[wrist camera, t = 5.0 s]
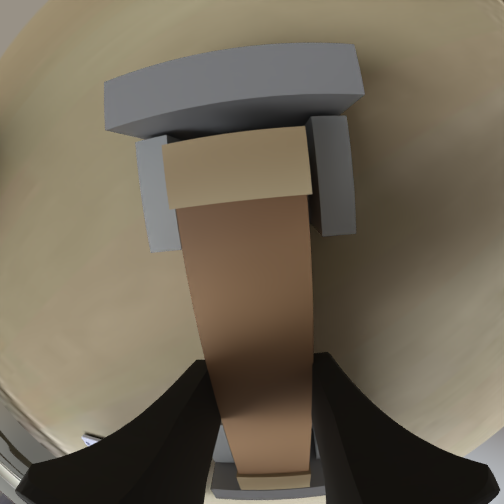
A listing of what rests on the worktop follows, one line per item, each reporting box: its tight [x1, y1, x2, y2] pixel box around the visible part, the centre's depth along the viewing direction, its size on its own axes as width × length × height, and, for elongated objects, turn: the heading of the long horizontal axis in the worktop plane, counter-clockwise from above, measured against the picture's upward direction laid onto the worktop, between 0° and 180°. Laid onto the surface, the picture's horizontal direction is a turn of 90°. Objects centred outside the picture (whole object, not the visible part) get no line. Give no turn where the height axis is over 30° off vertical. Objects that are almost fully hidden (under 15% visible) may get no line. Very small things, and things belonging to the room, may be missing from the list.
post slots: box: [104, 43, 365, 500], centre depth 11 cm, size 21×7×5 cm, turn 6°
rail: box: [162, 126, 314, 490], centre depth 10 cm, size 15×3×5 cm, turn 6°
